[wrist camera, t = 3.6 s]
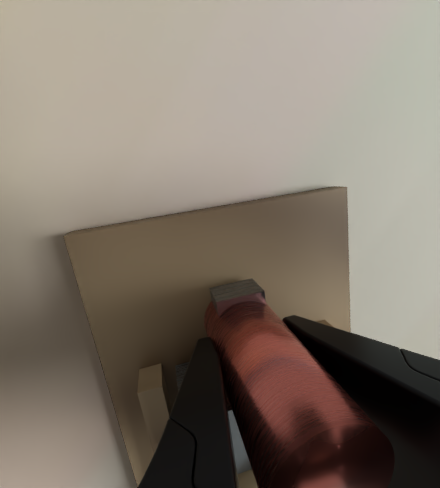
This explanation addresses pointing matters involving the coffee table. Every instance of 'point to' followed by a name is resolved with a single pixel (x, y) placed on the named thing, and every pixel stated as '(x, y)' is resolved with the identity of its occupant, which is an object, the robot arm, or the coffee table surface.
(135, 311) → the beige mounting plate
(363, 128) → the coffee table surface
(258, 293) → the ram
